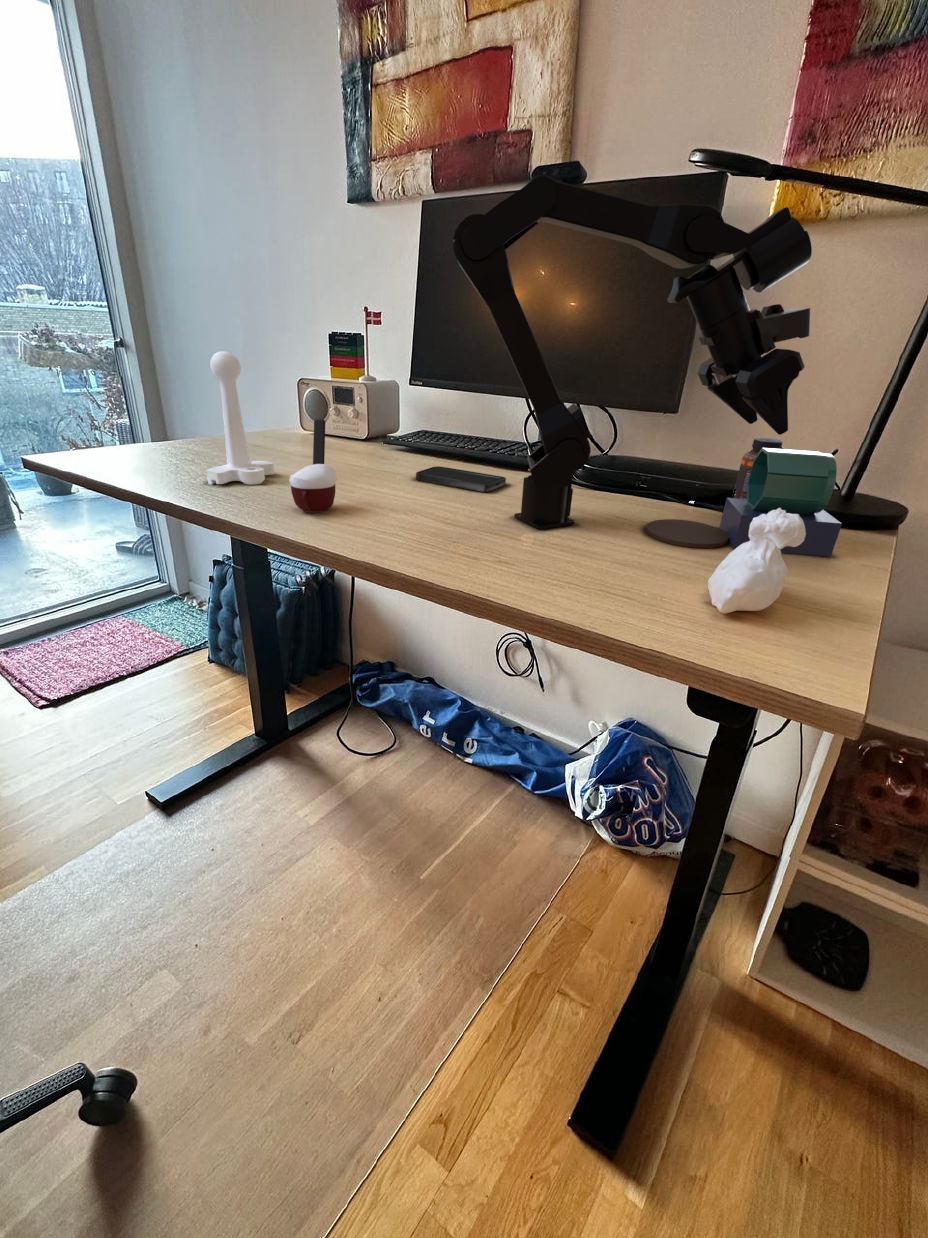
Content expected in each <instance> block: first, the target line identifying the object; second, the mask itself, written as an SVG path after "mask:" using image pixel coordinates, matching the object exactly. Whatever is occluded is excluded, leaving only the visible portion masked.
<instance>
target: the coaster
mask: <svg viewBox="0 0 928 1238" xmlns="http://www.w3.org/2000/svg"><path fill="white" fill-rule="evenodd" d="M645 532H646V534H647V535H648V536H649V537H651V538H653V539H655V540H658V541H659V542H663V543H666V544H668V545H669V544H670V545H674V546H679V547H685V548H691V549H693V548H694V549H713V548H720V547H723V546H726V545H727V544H728V543H729V541H728V540H729V536H728V534H727V533H726V532H725V531H723V530H721V529H720V528H718V527H717V526H714V525H711V524H708V523H704V522H701V521H700V522H699V521H694V520H688V519H677V518H666V519H665V518H664V519H656V520H652V521H649V522H648V523H646V525H645Z"/></svg>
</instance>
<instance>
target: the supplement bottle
mask: <svg viewBox="0 0 928 1238" xmlns="http://www.w3.org/2000/svg"><path fill="white" fill-rule="evenodd" d="M782 446H783V440H781V439H777V438H769V437H755V438H753V442H752V445H751V448H752V449H751V450H750V451H747V452H745V453H744V454H743V456H742V457H741V460H740V461H741V462H740V464H739V469H738V474H737V477H736V481H735V485H734V489H736V491H735V494H734V497H733V496H732V497H733V498H736V499H747V485H748V484H747V483H748V479H749V475H750V471H751V467H752V463H753V461H754V459H755V458H756V456H757V454H758V453H759V451H760V450H761V448H773V449H782Z"/></svg>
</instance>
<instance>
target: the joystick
mask: <svg viewBox="0 0 928 1238" xmlns="http://www.w3.org/2000/svg"><path fill="white" fill-rule="evenodd" d="M209 368H210V370H211V372H212V374H213V375H214V376H215V377H216V379H217V381H218V382H219V387H220V396H221V408H222V419H223V421H222V422H223V431H224V442H225V443H224V444H225V454H226V464H224V465H217V466H215V467H210V468H207V469H206V470H205V471H206V478H207V483H208V485H211V486H212V485H214V484H217V485H223V484H228V483H229V482H235V481H236V482H237V481H238V482H242V483H243V484H244V485H251V486H252V485H260V484H262V483H263V482H264V481H265V480H266V476H268V475H269V476H270V475H275V474H276V473H275V464H274V462H271V461H267V460H250V456H249V455H250V454H249V450H248V445H247V439H246V434H245V428H244V423H243V416H242V412H241V406H240V401H239V395H238V390H237V380H238V378H239V376H240V375H241V369H242V367H241V363H240V360H239V359H238V357H237V356H236V355H234V354H233V353H232V352H229V351H226V350H219V351H217V352H215V353H214V354H213V355H212V357H211V358H210V363H209Z"/></svg>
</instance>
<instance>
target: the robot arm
mask: <svg viewBox="0 0 928 1238" xmlns="http://www.w3.org/2000/svg"><path fill="white" fill-rule="evenodd" d="M540 223H545V224H549V225H554V226H557V227H561V228H565V229H570V230H574V231H577V232H582V233H584V234H589V235H592V236H593V235H594V236H597V237H601V238H605V239H609V240H613V241H617V242H621V243H625V244H629V245H632V246H634V247H635V248H638V249H639V250H641V251H643V252H644V253H646V254H647V255H648V256H650V257H651V258H653V259H655V260H657V261H659V262H661V263H664V264H666V265H668V266H670V267H672V268H674V269H682V270H684V269H688V268H691V267H695V266H698V265H702V264H704V263H706V262H707V261H714V260H717V259H722V258H723V257H727V256H730V255H732V256H733V257H731V258H730V259H728V260H727V261H725V262H724V263H722V264H721V265H719V266H718V267H715V266H714V265H712V264H706V265H705V266H703V267H702V268H700V269H699V270H697V271H696V272H694V273H692V274H691V275H690V276H688V277H683V276H681V275H680V276H677V277H674V279H673V284H672V288H671V290H670V293H669V295H668V297H667V303H669V304H674V303H679V302H681V301H683V300H684V299H687V301H688V305H689V306H690V309H691V311H692V313H693V316H694V318H695V321H696V323H697V325H698V328H699V331H700V332H701V335H700V336H698V340H699V342H700V344H701V346H706V347H707V349H708V352H709V355H710V356H711V357H709V358H708V359H706V360H705V361H703V362H702V363H700V366H699V367H698V371H697V375H698V378H699V380H700V382H701V385H702V386H704V387H706V389H707V390H708V391H710V392H711V393H712V394H714V395H715V396H716V397H717V398H718V399H719V400H721V401H722V402H723V403H724V404H726V405H727V406H728V407H729V408H730V409H731V410H733V411H734V412H735V413H736V414H737V415H738V416H739V417H740V418H742V419H743V420H744V421H745V422H746V423H748V424H749V425H752V424H754V423H756V422H757V421H758V416H759V417H760V418H761V419H762V420H763V421H764V422H765V423H766V424H767V425H768V426H769V427H770V428H771V429H772V430H773V431H774V432H775V433H776V434H777V435H779V436H781V435H784V434H785V433H787V432H788V431H789V410H788V409H789V407H788V406H789V405H788V403H789V401H788V397H789V396H788V395H789V389H790V387H791V385H792V384H793V382H794V381H795V380H796V379H798V377H799V376H800V373H801V372H802V371H803V370H804V369H805V366H806V365H805V364H804V361H803V358H802V355H801V352H800V351H797V350H792V349H788V348H777V346H776V344H775V343H779V342H780V343H781V342H784V341H788V340H792V339H796V338H799V339H804V338H809V337H810V335H811V307H799V308H791V309H786V310H784V307H783V305H782V304H781V303H775V304H770V305H766V306H763V307H762V309H761V310H758V309H757V308H755V309H751V308H750V306H749V303H748V300H747V297H746V295H745V292H744V290H746V291H750V290H751V289H752V290H753V291H755V292H756V293H758V294H759V293H763V292H764V291H766V290H767V289H769V288H770V287H772V286H773V285H775V284H777V283H778V282H780V281H781V280H783V279H785V278H786V277H788V276H789V275H791V274H792V273H794V272H795V271H797V270H799V269H800V268H802V267H803V266H805V265H807V264H808V263H809V262H810V260H811V258H812V253H813V252H812V251H813V250H812V249H813V248H812V241H811V237H810V234H809V232H808V231H807V230H805V229H804V227H803V225H802V224H801V223H800V221H799V220H797V218H795V217H793V216H792V214H791V210H790V208H789V207H787V206H785V207H783V208H780V209H778V210H777V211H775V212H774V213H772V214H770V216H769V217H767V218H766V219H765V220H764V221H763V222H761V223H760V224H759V225H758V226H756V227H754V228H753V229H751V230H750V231H748V232H747V231H744V230H742V229H740V228H738V227H736V226H733V225H731V224H729V223H727V222H725V221H724V218H723V214H722V212H721V210H719V208H718V207H715V206H713V205H711V204H708V203H707V204H703V203H664V204H651V203H650V204H649V203H645V202H641V201H637V200H633V199H628V198H625V197H622V196H617V195H614V194H610V193H606V192H603V191H598V190H595V189H591V188H586V187H583V186H579V185H576V184H571V183H567V182H564V181H559V180H556V179H554V178H552V177H551V176H549V175H547V174H538V175H535V176H533V177H532V178H531V179H530V180H529V181H528V182H527V183H526V184H525V185H524V186H523V187H522V188H520V189H519V190H517V191H516V192H514V193H513V194H511V195H510V196H508V197H506V198H505V199H504V200H502V201H501V202H499V203H498V204H496V205H495V206H494V207H493V208H491V209H490V210H488V211H487V212H486V213H485V214H483V213H472V214H471V215H468V216H465V218H464V219H462V220H461V221H460V222H459V223H458V225H457V227H456V228H455V230H454V234H453V237H452V250H453V253H454V256H455V259H456V261H457V264H458V265H459V266H460V268H461V270H462V272H464V274H465V276H466V278H467V279H468V280H469V282H470V283H471V284H472V286H473V287H474V289H475V291H476V292H477V294H478V295H479V296H480V298H481V299H482V301H483V302H484V304H485V305H486V306H487V308H488V310H489V312H490V314H491V317H492V319H493V321H494V323H495V326H496V327H497V330H498V332H499V334H500V336H501V338H502V341H503V343H504V345H505V348H506V350H507V352H508V354H509V356H510V359H511V362H512V363H513V365H514V368H515V371H516V373H517V374H518V376H519V378H520V381H521V383H522V386H523V387H524V390H525V391H526V394H527V396H528V399H529V401H530V403H531V405H532V408H533V412H534V415H535V420H536V424H537V428H538V429H537V430H538V433H539V436H540V441H541V444H540V445H539V446H538V447H537V448H536V449H535V450H534V451H532V453H530V454H529V455H527V457H526V461H527V464H528V468H529V471H530V475H528V476H525V477H523V483H522V495H521V505H520V512H517V513H514V516H513V518H515V519H517V520H519V521H521V522H523V523H525V524H527V525H530V526H531V527H534V528H536V529H539V530H544V529H548V528H556V527H563V526H569V525H570V526H571V525H574V524H575V521H576V520H575V519H572V518H571V517H570V516H571V510H572V502H573V493H574V489H573V487H572V486H573V477H574V475H575V473H576V472H577V471H579V470H581V469H582V468H584V466H585V465H586V464H587V462H588V461H589V458H590V455H591V453H592V452H591V449H592V448H591V444H590V440H589V439H593V437H594V435H593V434H592V433H590V432H589V430H588V428H587V427H586V424H585V420H584V415H583V411H582V408H580V407H579V406H578V405H577V403H572V404H571V405H570V406H568V407H567V405H566V404H565V402H564V401H563V400H562V398H561V397H560V395H559V392H558V390H557V386H556V385H555V383H554V381H553V378H552V376H551V373H550V371H549V368H548V366H547V364H546V362H545V360H544V357H543V354H542V352H541V349H540V348H539V345H538V343H537V340H536V337H535V336H534V334H533V331H532V329H531V327H530V324H529V322H528V320H527V316H526V315H525V312H524V310H523V308H522V305H521V303H520V301H519V298H518V296H517V294H516V290H515V286H514V282H513V281H514V280H513V278H512V272H511V269H510V265H509V264H510V263H509V259H508V255H507V251H506V250H508V249H509V248H510V247H512V245H514V244H515V243H517V241H519V240H520V239H521V238H523V237H524V236H525V235H526V234H528V233H529V232H530V231H532V229H533V228H535V227H536V226H538V225H539V224H540ZM743 289H744V290H743ZM762 355H763V356H762Z"/></svg>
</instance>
